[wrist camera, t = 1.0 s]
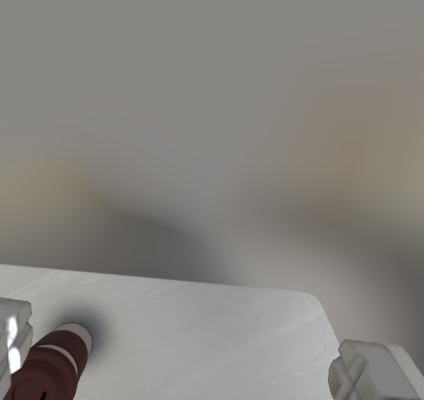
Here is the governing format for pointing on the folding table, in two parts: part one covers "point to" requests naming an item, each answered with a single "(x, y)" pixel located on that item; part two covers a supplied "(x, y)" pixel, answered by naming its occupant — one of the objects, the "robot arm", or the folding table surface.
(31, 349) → the coffee cup
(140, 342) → the folding table surface
